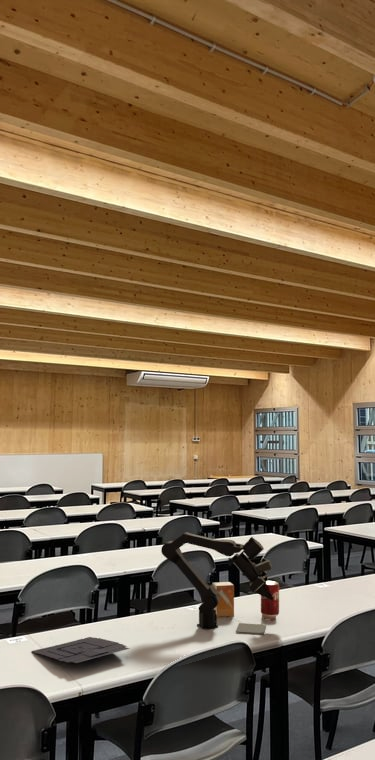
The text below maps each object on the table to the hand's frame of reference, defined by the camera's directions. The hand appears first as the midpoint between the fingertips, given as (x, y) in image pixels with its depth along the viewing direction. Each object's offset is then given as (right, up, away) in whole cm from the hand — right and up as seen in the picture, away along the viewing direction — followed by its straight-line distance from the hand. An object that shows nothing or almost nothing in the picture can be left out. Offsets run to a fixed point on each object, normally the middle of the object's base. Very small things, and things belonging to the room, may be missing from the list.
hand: (273, 596), depth 221 cm
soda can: (-1, -7, -1) cm, 7 cm away
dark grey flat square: (-71, -10, -28) cm, 77 cm away
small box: (-19, -16, +21) cm, 32 cm away
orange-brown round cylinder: (+1, -15, +16) cm, 22 cm away
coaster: (-9, -13, 0) cm, 16 cm away
